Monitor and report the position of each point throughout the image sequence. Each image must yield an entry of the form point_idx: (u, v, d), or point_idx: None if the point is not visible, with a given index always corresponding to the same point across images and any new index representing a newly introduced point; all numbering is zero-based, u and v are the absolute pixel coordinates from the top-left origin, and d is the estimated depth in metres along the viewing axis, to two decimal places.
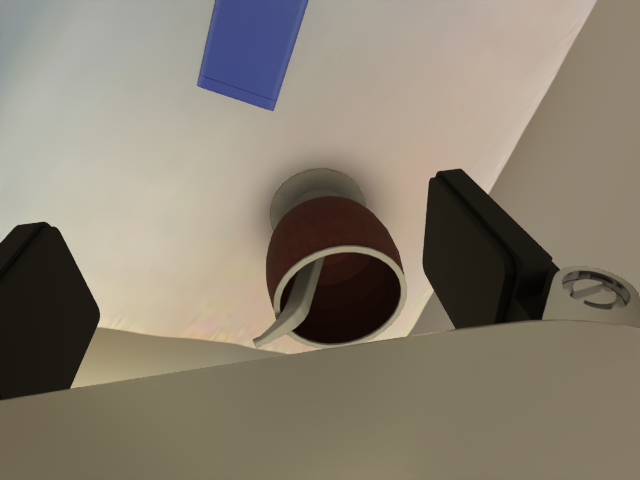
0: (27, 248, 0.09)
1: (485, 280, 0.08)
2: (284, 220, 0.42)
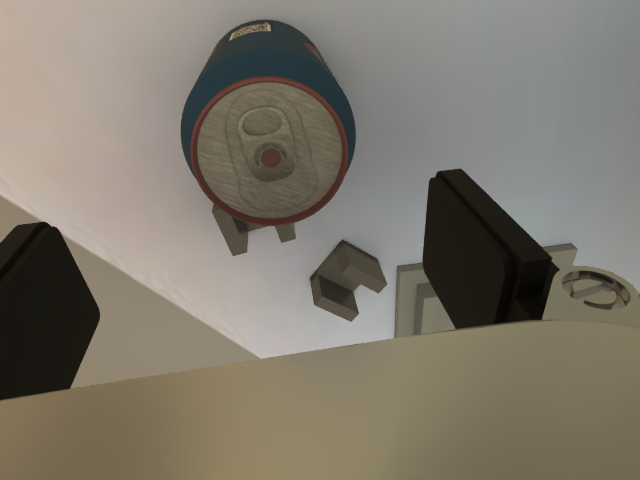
0: (27, 248, 0.09)
1: (485, 280, 0.08)
2: None
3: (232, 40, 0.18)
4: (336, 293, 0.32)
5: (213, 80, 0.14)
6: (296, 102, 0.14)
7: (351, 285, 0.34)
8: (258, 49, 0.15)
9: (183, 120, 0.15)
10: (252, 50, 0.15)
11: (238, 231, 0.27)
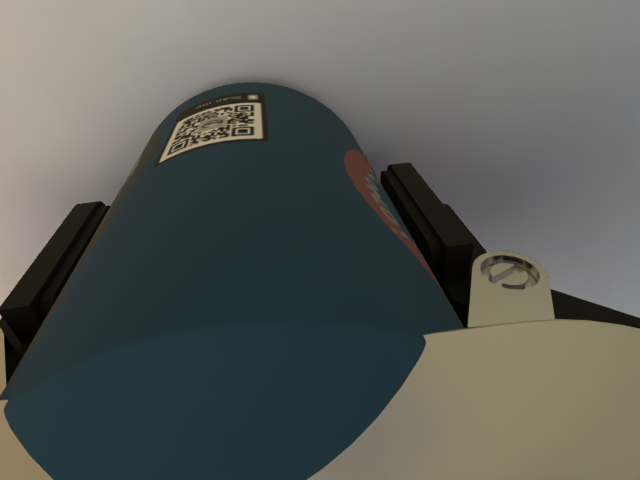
0: (90, 224, 0.09)
1: None
2: None
3: (163, 170, 0.07)
4: None
5: None
6: None
7: None
8: (214, 325, 0.04)
9: None
10: (189, 332, 0.04)
11: None
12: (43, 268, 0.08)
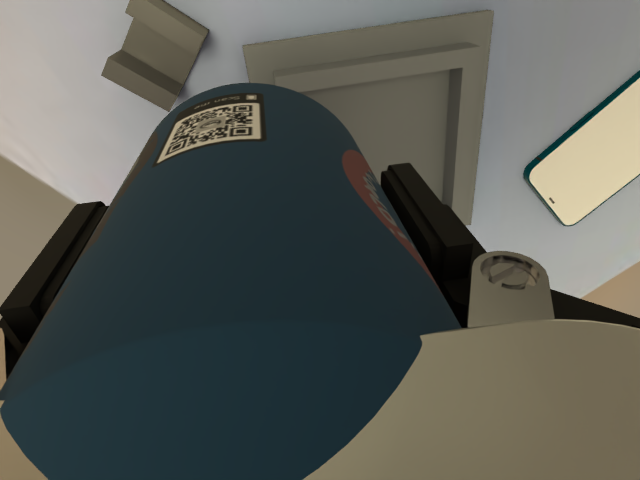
0: (90, 224, 0.09)
1: None
2: None
3: (161, 170, 0.07)
4: (144, 70, 0.23)
5: None
6: None
7: (177, 72, 0.24)
8: (209, 325, 0.04)
9: None
10: (184, 333, 0.04)
11: None
12: (43, 268, 0.08)
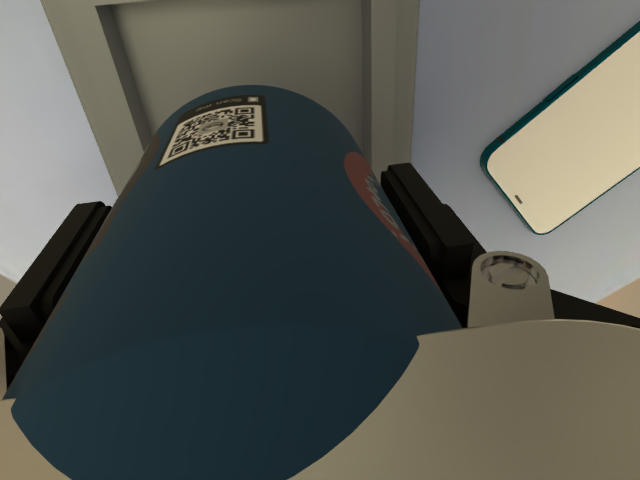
0: (90, 224, 0.09)
1: None
2: None
3: (164, 173, 0.07)
4: None
5: None
6: None
7: None
8: (214, 330, 0.04)
9: None
10: (189, 338, 0.04)
11: None
12: (43, 268, 0.08)
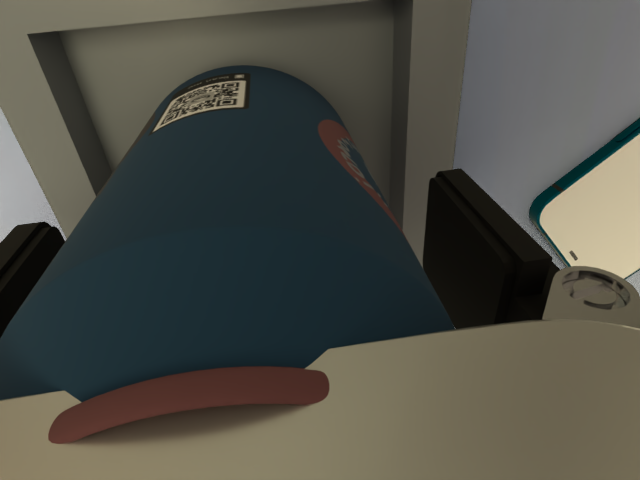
0: (27, 248, 0.09)
1: (485, 280, 0.08)
2: None
3: (155, 136, 0.08)
4: None
5: (37, 348, 0.04)
6: None
7: None
8: (185, 230, 0.05)
9: None
10: (165, 236, 0.04)
11: None
12: None
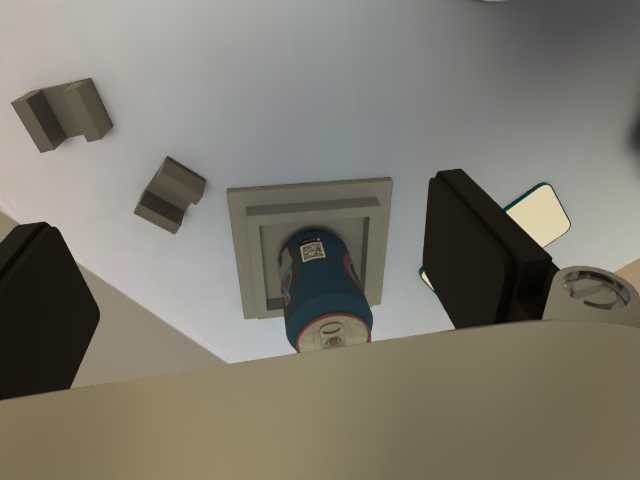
0: (27, 248, 0.09)
1: (485, 280, 0.08)
2: None
3: (306, 265, 0.34)
4: (160, 207, 0.35)
5: (308, 310, 0.30)
6: (348, 320, 0.30)
7: (181, 204, 0.36)
8: (329, 293, 0.31)
9: (290, 322, 0.31)
10: (326, 294, 0.31)
11: (42, 127, 0.29)
12: None
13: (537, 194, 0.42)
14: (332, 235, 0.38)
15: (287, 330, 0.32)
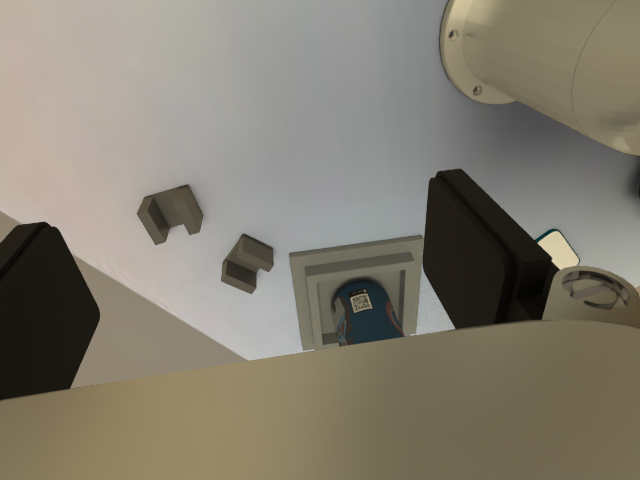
0: (27, 248, 0.09)
1: (485, 280, 0.08)
2: None
3: (357, 315, 0.43)
4: (240, 273, 0.44)
5: None
6: None
7: (254, 267, 0.45)
8: None
9: None
10: None
11: (157, 227, 0.38)
12: None
13: (548, 238, 0.49)
14: (375, 285, 0.47)
15: None
